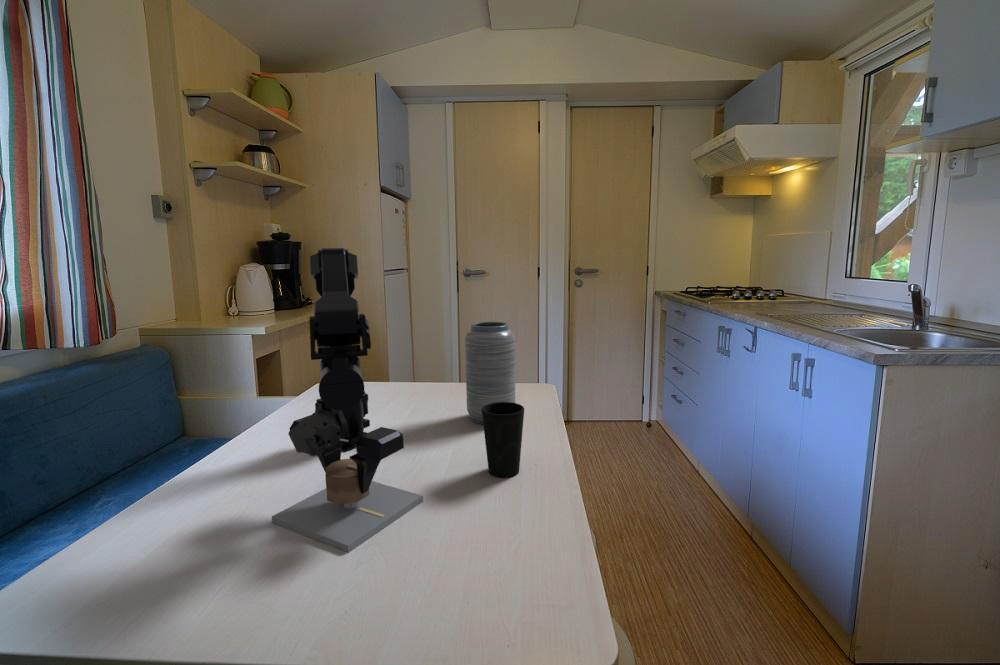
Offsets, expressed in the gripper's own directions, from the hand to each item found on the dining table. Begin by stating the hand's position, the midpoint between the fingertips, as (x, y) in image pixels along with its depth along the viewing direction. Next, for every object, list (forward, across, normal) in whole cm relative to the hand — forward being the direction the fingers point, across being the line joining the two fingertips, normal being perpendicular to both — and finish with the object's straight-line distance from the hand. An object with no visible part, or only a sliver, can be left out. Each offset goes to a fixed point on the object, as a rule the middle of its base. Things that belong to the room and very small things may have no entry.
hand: (348, 487), depth 79 cm
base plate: (+4, 0, 0) cm, 4 cm away
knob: (+1, 0, 0) cm, 1 cm away
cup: (+4, +14, +24) cm, 28 cm away
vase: (+4, -3, +48) cm, 48 cm away
